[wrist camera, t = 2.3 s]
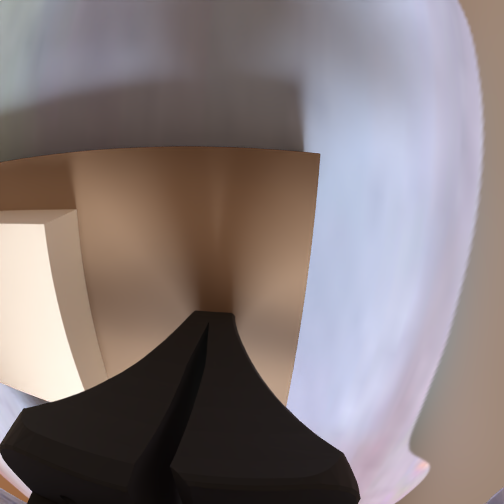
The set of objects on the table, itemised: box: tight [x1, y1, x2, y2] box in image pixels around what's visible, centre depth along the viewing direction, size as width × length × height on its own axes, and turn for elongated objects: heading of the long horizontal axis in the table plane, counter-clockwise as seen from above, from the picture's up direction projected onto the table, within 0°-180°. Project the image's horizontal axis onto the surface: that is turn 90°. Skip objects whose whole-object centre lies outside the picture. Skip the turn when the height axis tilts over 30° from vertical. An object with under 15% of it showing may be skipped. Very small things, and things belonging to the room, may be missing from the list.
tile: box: [0, 209, 108, 402], centre depth 10 cm, size 8×6×2 cm
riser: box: [0, 146, 320, 407], centre depth 12 cm, size 12×20×3 cm, turn 87°
